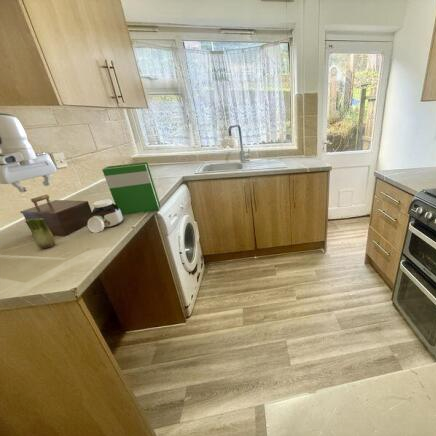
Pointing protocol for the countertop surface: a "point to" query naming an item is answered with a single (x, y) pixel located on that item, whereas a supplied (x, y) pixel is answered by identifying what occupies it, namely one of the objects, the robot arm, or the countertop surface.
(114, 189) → the hardback book
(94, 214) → the spread jar
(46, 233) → the fennel bulb
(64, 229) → the chest
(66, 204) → the chest lid
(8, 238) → the countertop surface
